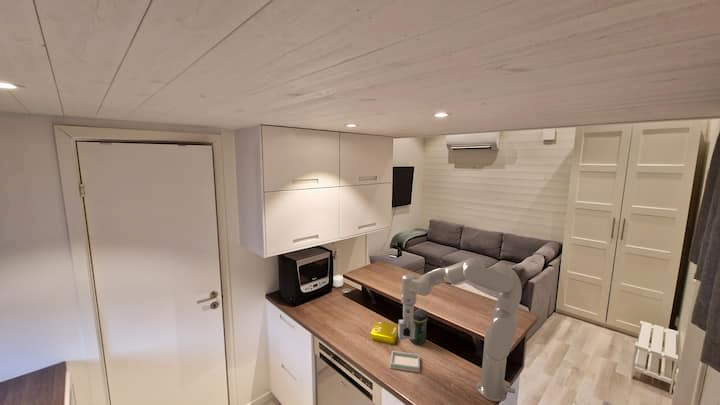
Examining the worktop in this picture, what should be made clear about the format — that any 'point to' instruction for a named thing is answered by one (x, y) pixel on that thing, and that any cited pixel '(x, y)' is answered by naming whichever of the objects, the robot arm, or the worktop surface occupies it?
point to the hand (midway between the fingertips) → (406, 332)
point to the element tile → (384, 332)
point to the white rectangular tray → (405, 361)
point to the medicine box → (401, 330)
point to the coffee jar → (420, 326)
